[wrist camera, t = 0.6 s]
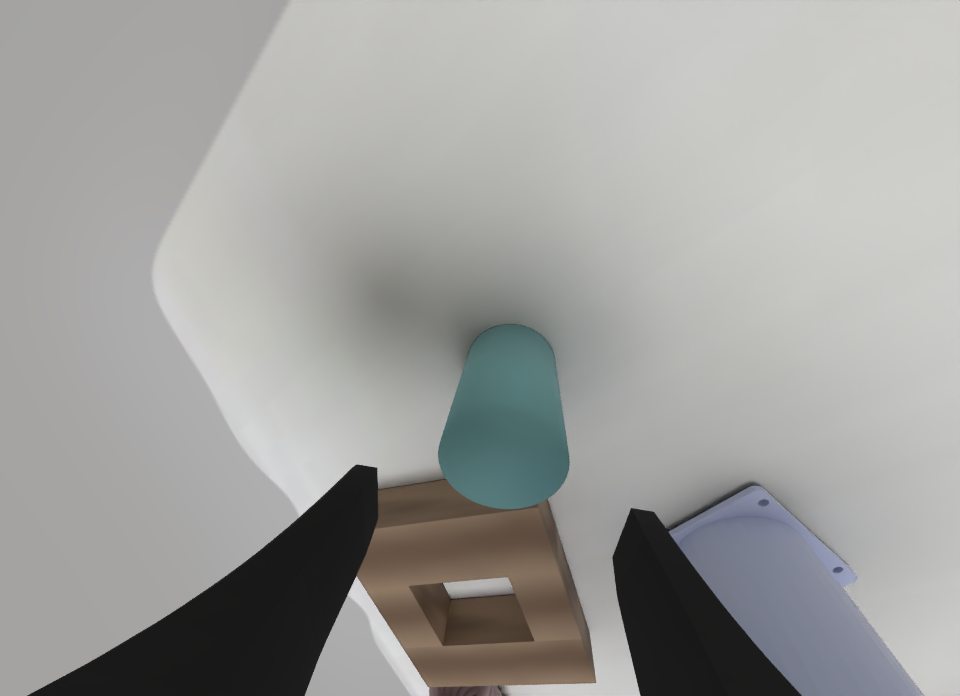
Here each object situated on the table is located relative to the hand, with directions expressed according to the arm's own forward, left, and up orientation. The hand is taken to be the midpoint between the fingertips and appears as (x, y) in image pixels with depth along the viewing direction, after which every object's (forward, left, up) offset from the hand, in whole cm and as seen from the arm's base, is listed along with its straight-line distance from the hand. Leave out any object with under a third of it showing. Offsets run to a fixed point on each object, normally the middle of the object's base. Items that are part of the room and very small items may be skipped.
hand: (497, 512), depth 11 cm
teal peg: (0, 0, -9) cm, 9 cm away
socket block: (-9, +13, -9) cm, 18 cm away
